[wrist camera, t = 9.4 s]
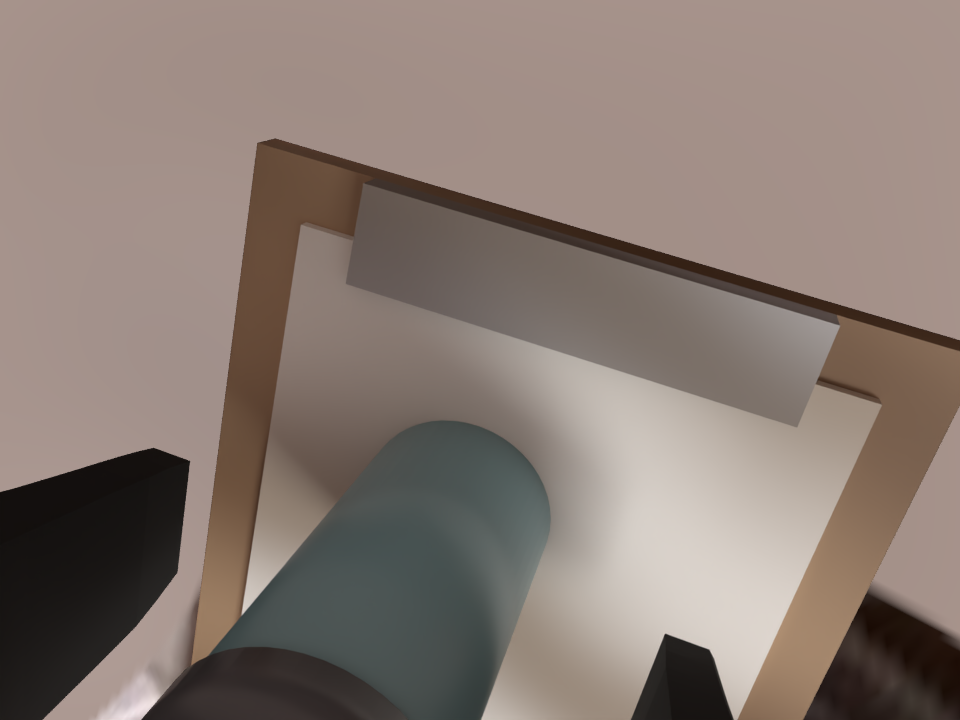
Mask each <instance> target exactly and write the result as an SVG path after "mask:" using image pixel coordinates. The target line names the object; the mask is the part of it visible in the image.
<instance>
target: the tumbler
mask: <svg viewBox="0 0 960 720" xmlns="http://www.w3.org/2000/svg"><path fill="white" fill-rule="evenodd" d="M550 522H551V516H550V506H549V501H548V496H547V493H546V490H545V488H544V485H543V483H542V481H541V479H540V477H539V475H538V473H537V472H536V470H535V469H534V467H533V466H532V464H531V463H530V462H529V461H528V460H527V458H526V457H525V456H524V455H523V454H522V453H521V452H520V451H519V450H518V449H517V448H515V447H514V446H513V445H512V444H511V443H509V442H508V441H506V440H505V439H504V438H502V437H500V436H499V435H497V434H495V433H493V432H491V431H489V430H487V429H484V428H482V427H480V426H476V425H473V424H469V423H465V422H459V421H445V420H441V421H430V422H426V423H421V424H418V425H415V426H413V427H410V428H408V429H406V430H404V431H402V432H400V433H399V434H397V435H396V436H395V437H393V438H392V439H391V440H390V441H389V442H388V443H387V444H386V445H385V446H384V447H383V448H382V449H381V450H380V452H379V453H378V454H377V455H376V456H375V458H374V459H373V460H372V461H371V462H370V464H369V465H368V466H367V467H366V468H365V470H364V471H363V472H362V473H361V474H360V475H359V477H358V478H357V479H356V480H355V481H354V483H353V484H352V485H351V486H350V487H349V489H348V490H347V491H346V492H345V493H344V495H343V496H342V497H341V498H340V499H339V500H338V502H337V503H336V504H335V505H334V506H333V508H332V509H331V510H330V511H329V512H328V514H327V515H326V516H325V517H324V518H323V520H322V521H321V522H320V523H319V524H318V525H317V527H316V528H315V529H314V530H313V531H312V533H311V534H310V535H309V536H308V537H307V539H306V540H305V541H304V542H303V543H302V545H301V546H300V547H299V548H298V549H297V550H296V552H295V553H294V554H293V555H292V556H291V558H290V559H289V560H288V561H287V562H286V564H285V565H284V566H283V567H282V568H281V570H280V571H279V572H278V573H277V574H276V575H275V577H274V578H273V579H272V580H271V581H270V583H269V584H268V585H267V586H266V587H265V589H264V590H263V591H262V592H261V593H260V594H259V596H258V597H257V598H256V599H255V600H254V602H253V603H252V604H251V605H250V606H249V608H248V609H247V610H246V611H245V612H244V614H243V615H242V616H241V617H240V618H239V619H238V621H237V622H236V623H235V624H234V625H233V627H232V628H231V629H230V630H229V631H228V633H227V634H226V635H225V636H224V637H223V639H222V640H221V641H220V642H219V643H218V644H217V646H216V647H215V648H214V649H213V650H212V652H211V653H210V654H209V655H208V656H207V657H205V658H203V659H201V660H199V661H197V662H196V663H194V664H193V665H191V666H190V667H189V668H187V669H186V670H185V671H184V672H183V673H182V674H181V675H180V676H179V677H178V678H177V679H176V680H175V681H174V682H173V683H172V685H171V686H170V687H169V688H168V689H167V690H166V692H165V693H164V694H163V695H162V696H161V697H160V699H159V700H158V701H157V702H156V703H155V704H154V706H153V707H152V708H151V709H150V710H149V711H148V713H147V714H146V715H145V716H144V717H143V718H142V720H481V719H482V716H483V714H484V711H485V708H486V706H487V703H488V700H489V697H490V695H491V692H492V689H493V687H494V684H495V681H496V678H497V676H498V673H499V670H500V668H501V665H502V662H503V660H504V657H505V654H506V651H507V649H508V646H509V643H510V641H511V638H512V635H513V632H514V630H515V627H516V624H517V622H518V619H519V616H520V614H521V611H522V608H523V605H524V603H525V600H526V597H527V595H528V592H529V589H530V586H531V584H532V581H533V578H534V576H535V573H536V570H537V567H538V565H539V562H540V559H541V557H542V554H543V551H544V549H545V546H546V543H547V540H548V536H549V532H550Z"/></svg>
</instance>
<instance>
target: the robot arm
mask: <svg viewBox="0 0 960 720" xmlns="http://www.w3.org/2000/svg"><path fill="white" fill-rule="evenodd" d="M189 465H190V461H188V460H186V459H183V458H180V457H177V456H174V455H172V454H169V453H166V452H164V451H161V450H158V449H155V448H151V449H147V450H142V451H139V452H134V453H131V454H127V455H124V456H120V457H117V458H114V459H110V460H107V461H103V462H100V463H97V464H94V465H90V466H87V467H84V468H81V469H78V470H74V471H71V472H68V473H65V474H61V475H58V476H54V477H51V478H48V479H44V480H41V481H38V482H34V483H31V484H28V485H24V486H21V487H18V488H14V489H10V490H6V491H3V492H0V720H43V719H44V718H45V717H46V716H47V714H48V713H50V712H51V711H52V710H53V709H54V708H55V707H56V706H57V705H58V704H59V703H60V702H61V701H62V700H63V699H64V698H65V697H66V696H67V695H68V694H69V693H70V692H71V691H72V690H73V689H74V688H75V687H76V686H77V685H78V684H79V683H80V682H81V681H82V680H83V679H84V678H85V677H86V676H87V675H88V674H89V673H90V672H91V671H92V670H93V669H94V668H95V667H96V666H97V665H98V664H99V663H100V662H101V661H102V660H103V659H104V658H105V657H106V656H107V655H108V654H109V653H110V652H111V651H112V650H113V649H114V648H115V647H116V646H117V645H118V644H119V643H120V642H121V641H122V640H123V639H124V638H125V637H126V636H127V635H128V634H129V633H130V632H131V631H132V630H133V629H134V628H135V627H136V626H137V624H138V623H139V622H140V620H141V619H142V618H143V617H144V616H145V614H146V613H147V612H148V611H149V609H150V608H151V607H152V605H153V604H154V603H155V602H156V600H157V599H158V598H159V596H160V595H161V594H162V592H163V591H164V590H165V588H166V587H167V586H168V584H169V583H170V582H171V580H172V579H173V578H174V576H175V575H176V574H177V571H178V562H179V553H180V544H181V535H182V526H183V517H184V509H185V501H186V492H187V482H188V473H189ZM631 720H734V719H733V716H732V713H731V710H730V707H729V704H728V701H727V698H726V695H725V692H724V689H723V686H722V683H721V680H720V676H719V673H718V670H717V666H716V663H715V660H714V658H713V656H712V654H711V652H710V650H709V649H707V648H704V647H701V646H698V645H696V644H693V643H690V642H687V641H685V640H682V639H679V638H676V637H673V636H671V635H668V634H665V635H664V637H663V640H662V642H661V645H660V647H659V650H658V652H657V655H656V658H655V660H654V663H653V665H652V668H651V670H650V673H649V675H648V678H647V680H646V683H645V685H644V688H643V690H642V693H641V695H640V698H639V700H638V703H637V706H636V708H635V711H634V713H633V716H632V718H631Z"/></svg>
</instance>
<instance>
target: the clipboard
mask: <svg viewBox="0 0 960 720" xmlns="http://www.w3.org/2000/svg"><path fill="white" fill-rule="evenodd" d="M959 406H960V340H956V339H953V338H950V337H947V336H943V335H940V334H936V333H933V332H929V331H926V330H923V329H919V328H916V327H912V326H909V325H906V324H902V323H899V322H896V321H892V320H889V319H885V318H882V317H879V316H875V315H872V314H868V313H865V312H861V311H858V310H855V309H852V308H848V307H845V306H841V305H838V304H835V303H831V302H828V301H824V300H821V299H817V298H814V297H811V296H807V295H804V294H801V293H797V292H794V291H791V290H787V289H784V288H780V287H777V286H774V285H770V284H766V283H763V282H760V281H756V280H753V279H750V278H746V277H743V276H740V275H736V274H733V273H730V272H726V271H723V270H719V269H716V268H712V267H709V266H706V265H702V264H699V263H695V262H692V261H689V260H685V259H682V258H679V257H675V256H671V255H669V254H665V253H662V252H658V251H655V250H652V249H648V248H645V247H641V246H638V245H634V244H631V243H628V242H624V241H621V240H617V239H614V238H611V237H607V236H604V235H601V234H597V233H594V232H591V231H587V230H584V229H580V228H577V227H574V226H570V225H567V224H563V223H560V222H557V221H553V220H550V219H546V218H543V217H540V216H536V215H533V214H529V213H526V212H523V211H519V210H516V209H512V208H509V207H506V206H502V205H499V204H496V203H492V202H489V201H485V200H482V199H479V198H475V197H472V196H468V195H465V194H461V193H458V192H455V191H451V190H448V189H445V188H441V187H438V186H434V185H431V184H428V183H424V182H421V181H418V180H414V179H411V178H407V177H404V176H401V175H397V174H394V173H390V172H387V171H384V170H380V169H377V168H373V167H370V166H366V165H363V164H360V163H356V162H353V161H349V160H346V159H343V158H340V157H336V156H333V155H329V154H326V153H322V152H319V151H316V150H312V149H309V148H305V147H302V146H299V145H295V144H292V143H289V142H285V141H282V140H279V139H272V140H268V141H263V142H260V143H257V151H256V158H255V166H254V174H253V182H252V190H251V198H250V206H249V214H248V221H247V229H246V237H245V245H244V253H243V260H242V268H241V276H240V284H239V292H238V300H237V308H236V315H235V324H234V331H233V339H232V347H231V356H230V363H229V371H228V379H227V386H226V394H225V402H224V411H223V418H222V426H221V434H220V441H219V449H218V457H217V465H216V473H215V481H214V489H213V496H212V504H211V512H210V520H209V528H208V536H207V544H206V552H205V559H204V567H203V575H202V583H201V591H200V599H199V606H198V614H197V622H196V630H195V638H194V646H193V654H192V661H191V665H193V664H194V663H196V662H197V661H199V660H201V659H203V658H205V657H207V656H208V655H209V654H210V653H211V652H212V650H213V649H214V648H215V647H216V646H217V644H218V643H219V642H220V641H221V640H222V639H223V637H224V636H225V635H226V634H227V633H228V631H229V630H230V629H231V628H232V627H233V625H234V624H235V623H236V622H237V621H238V619H239V618H240V617H241V616H242V615H243V614H244V612H245V611H246V610H247V609H248V608H249V606H250V605H251V604H252V603H253V602H254V600H255V599H256V598H257V597H258V596H259V594H260V593H261V592H262V591H263V590H264V589H265V587H266V586H267V585H268V584H269V583H270V581H271V580H272V579H273V578H274V577H275V575H276V574H277V573H278V572H279V571H280V570H281V568H282V567H283V566H284V565H285V564H286V562H287V561H288V560H289V559H290V558H291V556H292V555H293V554H294V553H295V552H296V550H297V549H298V548H299V547H300V546H301V545H302V543H303V542H304V541H305V540H306V539H307V537H308V536H309V535H310V534H311V533H312V531H313V530H314V529H315V528H316V527H317V525H318V524H319V523H320V522H321V521H322V520H323V518H324V517H325V516H326V515H327V514H328V512H329V511H330V510H331V509H332V508H333V506H334V505H335V504H336V503H337V502H338V500H339V499H340V498H341V497H342V496H343V495H344V493H345V492H346V491H347V490H348V489H349V487H350V486H351V485H352V484H353V483H354V481H355V480H356V479H357V478H358V477H359V475H360V474H361V473H362V472H363V471H364V470H365V468H366V467H367V466H368V465H369V464H370V462H371V461H372V460H373V459H374V458H375V456H376V455H377V454H378V453H379V452H380V450H381V449H382V448H383V447H384V446H385V445H386V444H387V443H388V442H389V441H390V440H391V439H392V438H393V437H395V436H396V435H397V434H399V433H400V432H402V431H404V430H406V429H408V428H410V427H413V426H415V425H418V424H421V423H426V422H430V421H441V420H445V421H459V422H465V423H469V424H473V425H476V426H480V427H482V428H484V429H487V430H489V431H491V432H493V433H495V434H497V435H499V436H500V437H502V438H504V439H505V440H506V441H508V442H509V443H511V444H512V445H513V446H514V447H515V448H517V449H518V450H519V451H520V452H521V453H522V454H523V455H524V456H525V457H526V458H527V460H528V461H529V462H530V463H531V464H532V466H533V467H534V469H535V470H536V472H537V473H538V475H539V477H540V479H541V481H542V483H543V485H544V488H545V490H546V493H547V496H548V501H549V506H550V516H551V522H550V532H549V536H548V540H547V543H546V546H545V549H544V551H543V554H542V557H541V559H540V562H539V565H538V567H537V570H536V573H535V576H534V578H533V581H532V584H531V586H530V589H529V592H528V595H527V597H526V600H525V603H524V605H523V608H522V611H521V614H520V616H519V619H518V622H517V624H516V627H515V630H514V632H513V635H512V638H511V641H510V643H509V646H508V649H507V651H506V654H505V657H504V660H503V662H502V665H501V668H500V670H499V673H498V676H497V678H496V681H495V684H494V687H493V689H492V692H491V695H490V697H489V700H488V703H487V706H486V708H485V711H484V714H483V716H482V719H481V720H631V718H632V716H633V713H634V711H635V708H636V706H637V703H638V700H639V698H640V695H641V693H642V690H643V688H644V685H645V683H646V680H647V678H648V675H649V673H650V670H651V668H652V665H653V663H654V660H655V658H656V655H657V652H658V650H659V647H660V645H661V642H662V640H663V637H664V635H665V634H668V635H671V636H673V637H676V638H679V639H682V640H685V641H687V642H690V643H693V644H696V645H698V646H701V647H704V648H707V649H709V650H710V652H711V654H712V656H713V658H714V660H715V663H716V666H717V670H718V673H719V676H720V680H721V683H722V686H723V689H724V692H725V695H726V698H727V701H728V704H729V707H730V710H731V713H732V716H733V719H734V720H803V718H804V716H805V714H806V712H807V710H808V708H809V706H810V704H811V702H812V700H813V698H814V696H815V694H816V692H817V690H818V688H819V686H820V684H821V682H822V680H823V678H824V676H825V674H826V672H827V670H828V668H829V666H830V664H831V662H832V660H833V658H834V656H835V654H836V652H837V650H838V648H839V646H840V644H841V642H842V640H843V638H844V636H845V634H846V632H847V630H848V628H849V626H850V624H851V622H852V620H853V618H854V616H855V614H856V612H857V610H858V608H859V606H860V604H861V602H862V600H863V598H864V596H865V594H866V592H867V590H868V588H869V586H870V584H871V582H872V580H873V578H874V576H875V574H876V572H877V570H878V568H879V566H880V564H881V562H882V560H883V558H884V556H885V554H886V552H887V550H888V548H889V546H890V544H891V542H892V540H893V538H894V536H895V534H896V532H897V530H898V528H899V526H900V524H901V522H902V520H903V518H904V516H905V514H906V512H907V510H908V508H909V506H910V504H911V502H912V500H913V498H914V496H915V494H916V492H917V490H918V488H919V486H920V484H921V482H922V480H923V478H924V476H925V474H926V472H927V470H928V468H929V466H930V464H931V462H932V460H933V458H934V456H935V454H936V452H937V450H938V448H939V446H940V444H941V442H942V440H943V438H944V436H945V434H946V432H947V430H948V428H949V425H950V424H951V422H952V420H953V418H954V416H955V414H956V412H957V410H958V408H959Z"/></svg>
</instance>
